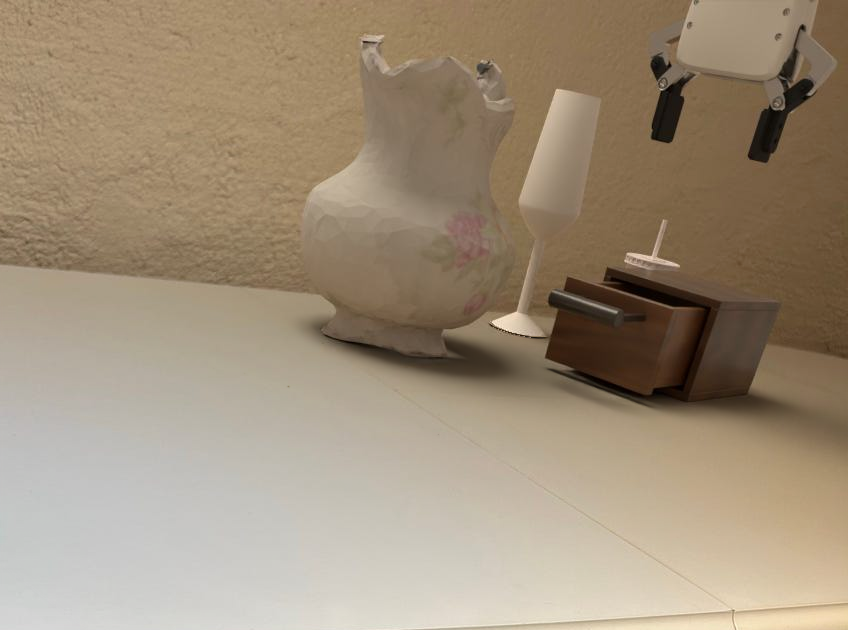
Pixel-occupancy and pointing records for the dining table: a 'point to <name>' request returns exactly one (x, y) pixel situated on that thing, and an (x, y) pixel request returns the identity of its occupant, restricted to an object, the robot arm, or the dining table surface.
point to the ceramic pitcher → (414, 207)
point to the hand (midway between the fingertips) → (707, 151)
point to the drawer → (625, 333)
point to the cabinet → (714, 331)
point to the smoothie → (651, 257)
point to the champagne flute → (554, 187)
